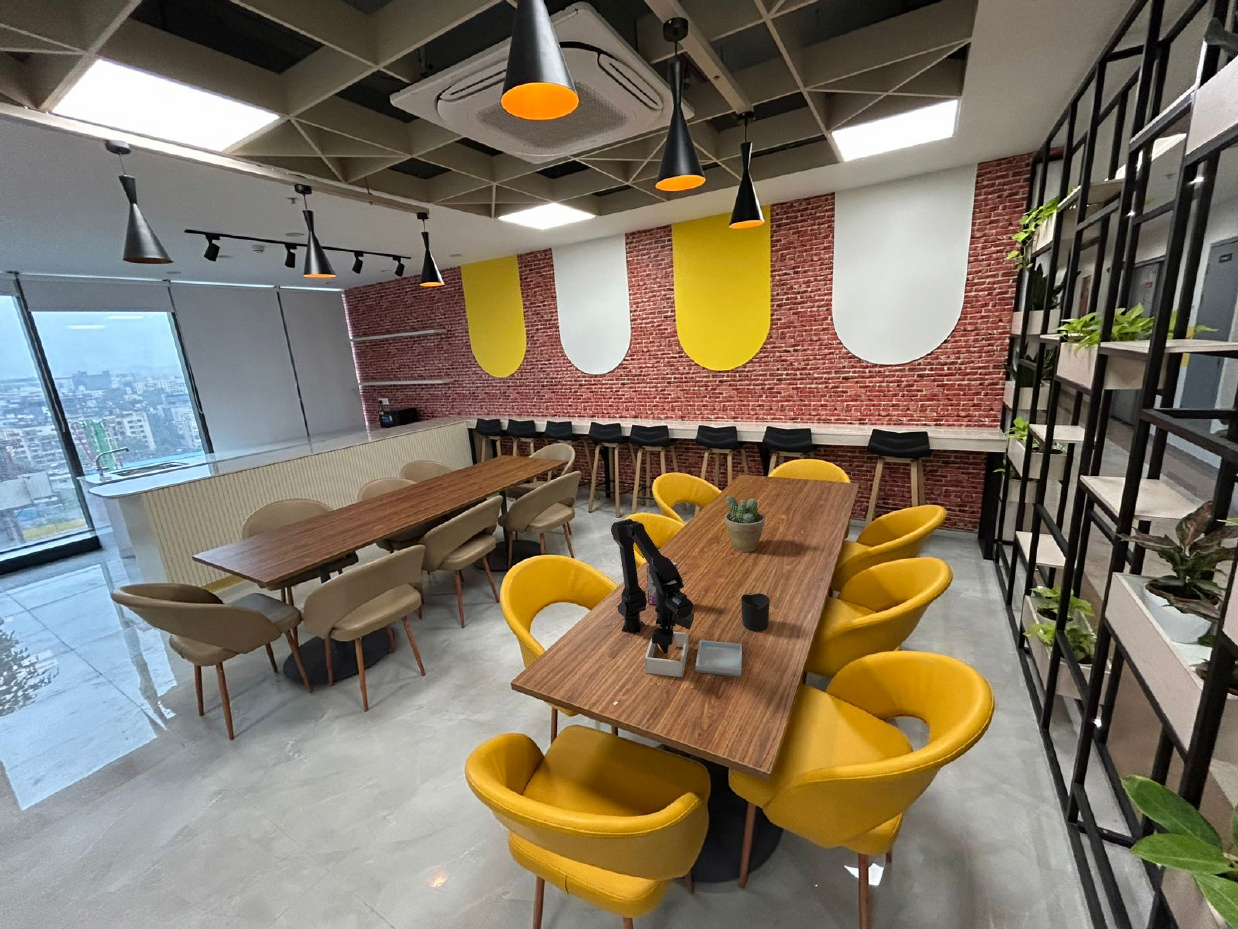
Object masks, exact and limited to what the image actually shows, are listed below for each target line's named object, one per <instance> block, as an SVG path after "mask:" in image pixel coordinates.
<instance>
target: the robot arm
mask: <svg viewBox="0 0 1238 929" xmlns="http://www.w3.org/2000/svg"><path fill="white" fill-rule="evenodd" d="M610 533H611V535H612V539H613V541H614V542H615V543H616V544H617V546H618V547H619V555H620V556H619V557H620V562H621V568H622V569H621V570H622V576H623V583H624V588H623V590H622V593H621V602H619V604H618V605H617V611H618V613H619V614H620V615H621V616H622V617H623V620H624V623H623V626H622V628H621V631H622V632H627V633H628V632H630V633H641V630H642V628H643V624H644V621H643V620H642V621H641V612H644V611H646V609H647V604H648V598H647V594H646V591H645V590H643V589H642V588H641V586H640V585H639V577H638V568H637V562H636V561H637V560H636V555H635V548H634V545H636V546H637V548H638V549H639V551H640V552H641V555H642V556H643V557H644V559H645V561H646V562H647V564H649V573H650V575H651V578H652V581H653V583H652V585H654V586H655V587H656V605H655V608H654V610H655V613H656V619H655V624H656V625H659V627H656V628H654V629H653V631H652V634H651V637H650V640H651V639H652V643H654V644H659V646H660V648H661V649H662V651H663V652H662V651H661V652H662V653H663V654H665V655H667V653H668V648H669V645H672V643H673V640H674V632H675V631H674V627H676V625H677V626H680V627H682V628H684V629H685V630H687V631H688V630H690V629H691V628H692V624H693V622H694V619H695V614H694V611H693V610H694V609H693V608H694V604H693V602H692V600H691V599H689V598H688V595H687V594H686V593H684V592H682V591H681V589H684V588H685V586H684V580H683V578H682V575H681V574H680V573H679V570H678V567H677V568H676V566H675V565H674V564H673V563H674V562H673V561H672V560H671V559H670V558H668V557H667V556H665V555H663V554H662V553H661V552H660V550H659V548H657V546H656V544H655V543H654V541H653V540H652V538H651V536H650V535H649V533H648V531H646V527H645V524H644V523H642V522H639V520H633V519H632V518H626V519H623V520H618V521H616V522H613V523H612V525H611V527H610ZM672 562H673V563H672ZM675 580H676V583H673V584H669V582H672V581H675ZM668 654H669V653H668Z"/></svg>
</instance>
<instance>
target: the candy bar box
mask: <svg viewBox="0 0 1238 929" xmlns="http://www.w3.org/2000/svg"><path fill="white" fill-rule="evenodd" d="M671 562H672V563H673V564H674V565H675V566H676V568H677V569H678V562H673V561H671ZM646 582H647V584H646V585H647V586H646V587H647V604H648V605H653V606H654V605H655V606H656V587H655V586H654V585H652V583H653V581H652V578H651V575H650V573H649V564H648V563H647V564H646ZM673 583H676V580H675V581H672V582H669V584H673Z"/></svg>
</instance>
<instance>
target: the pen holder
mask: <svg viewBox="0 0 1238 929" xmlns="http://www.w3.org/2000/svg"><path fill="white" fill-rule="evenodd" d="M770 601H771V600H770V598H769V597H768V596H767V595H766V594H764V593H754V594H747V593H746V594H743V595H741V602H740V603H741V604H740V605H741V623H742V626H743V627H744V628H745V629H747V630H748V631H751V632H762V631H765V630H766V629H768V627H769V621H770V620H769V618H770V617H769V616H770Z"/></svg>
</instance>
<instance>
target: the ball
mask: <svg viewBox="0 0 1238 929" xmlns="http://www.w3.org/2000/svg"><path fill="white" fill-rule="evenodd" d="M657 647H658V649H659V650H660V651H661V652H662V653H663V651H662V649H661V648H660V646H659V644H658V645H657ZM677 648H678V647H677V641H676V638H675V637H674V640H673V643H672V645H669V648H668V653H667V654H668V655H669V654H672V653H673V652H675V651H676V649H677ZM667 654H666V655H667Z"/></svg>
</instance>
